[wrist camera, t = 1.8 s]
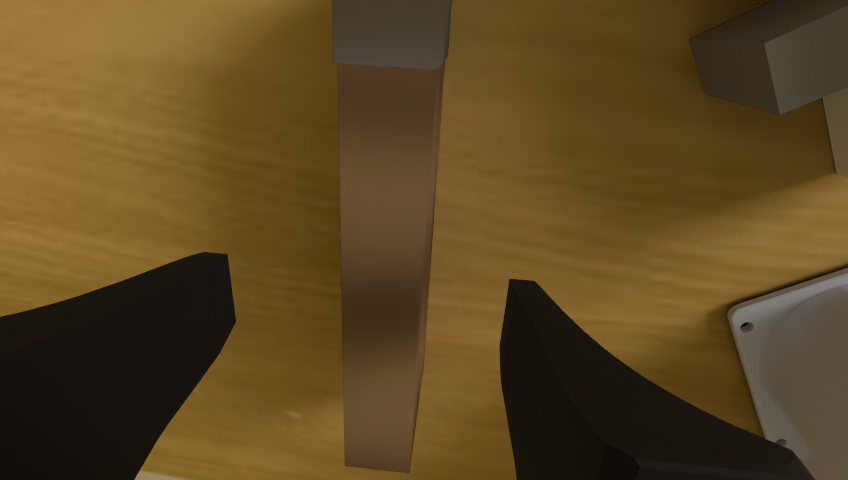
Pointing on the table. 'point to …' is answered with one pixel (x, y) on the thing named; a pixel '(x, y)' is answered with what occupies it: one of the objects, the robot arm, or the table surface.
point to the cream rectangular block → (783, 62)
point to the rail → (386, 213)
